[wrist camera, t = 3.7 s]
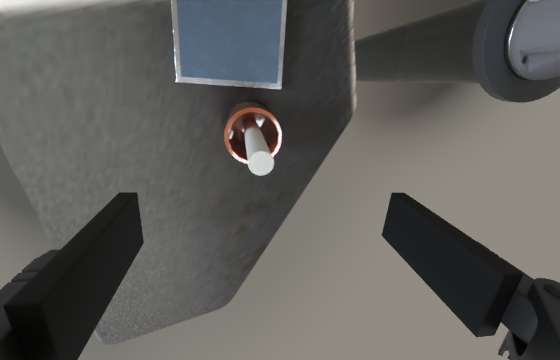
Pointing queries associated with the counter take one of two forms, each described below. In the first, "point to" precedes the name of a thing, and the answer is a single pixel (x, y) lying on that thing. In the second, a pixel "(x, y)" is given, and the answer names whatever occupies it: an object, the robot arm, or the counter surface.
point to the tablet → (229, 42)
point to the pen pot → (236, 132)
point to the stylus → (257, 149)
